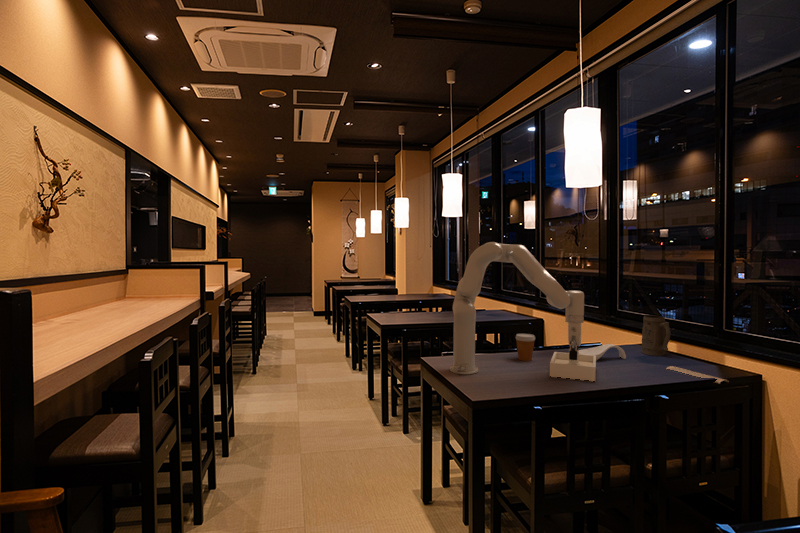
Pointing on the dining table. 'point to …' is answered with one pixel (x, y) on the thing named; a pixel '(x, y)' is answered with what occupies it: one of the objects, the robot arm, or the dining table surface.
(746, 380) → the dining table surface
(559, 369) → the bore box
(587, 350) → the spoon rest
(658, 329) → the beer stein
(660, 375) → the dining table surface
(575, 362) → the small plastic bottle
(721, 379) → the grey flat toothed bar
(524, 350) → the disposable coffee cup
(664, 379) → the dining table surface
